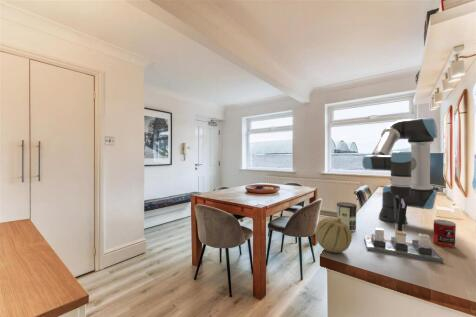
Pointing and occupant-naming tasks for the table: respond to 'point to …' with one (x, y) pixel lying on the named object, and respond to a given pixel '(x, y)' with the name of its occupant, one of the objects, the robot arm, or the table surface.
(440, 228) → the canned food
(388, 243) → the panel
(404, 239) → the handle
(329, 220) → the cantaloupe
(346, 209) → the coffee can
